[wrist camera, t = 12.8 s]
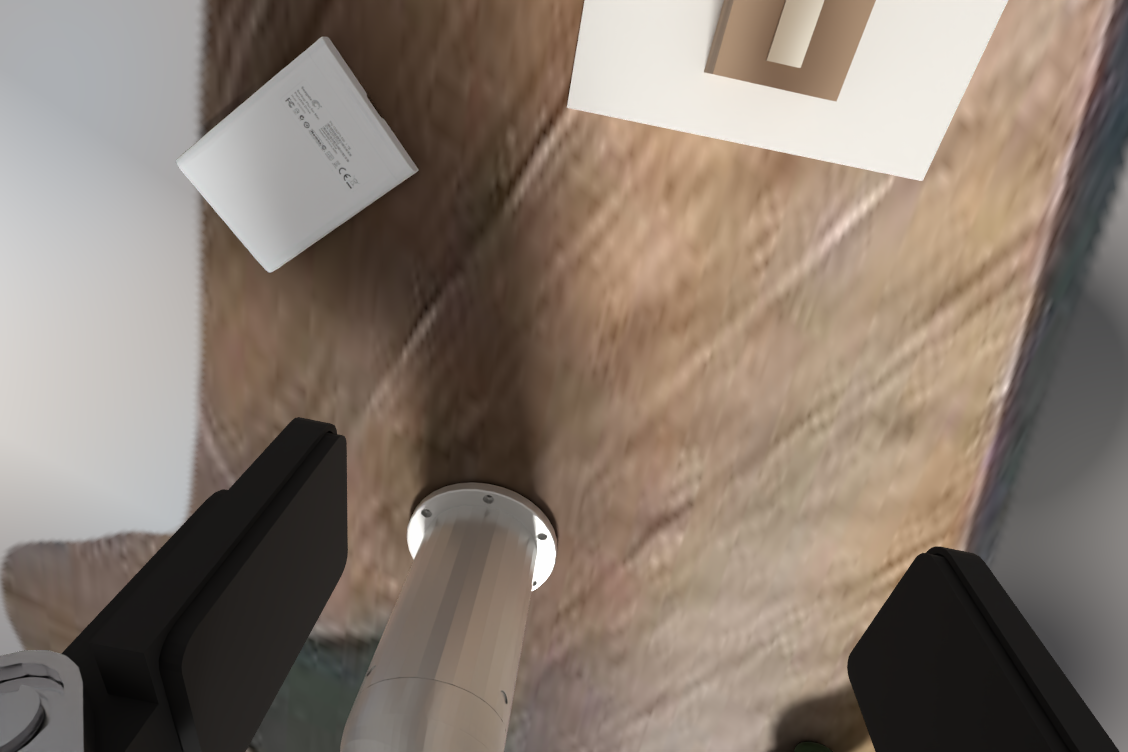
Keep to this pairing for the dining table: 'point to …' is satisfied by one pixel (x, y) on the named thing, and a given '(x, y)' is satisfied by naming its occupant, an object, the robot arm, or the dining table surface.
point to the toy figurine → (811, 747)
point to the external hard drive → (297, 158)
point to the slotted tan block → (789, 43)
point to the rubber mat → (777, 117)
